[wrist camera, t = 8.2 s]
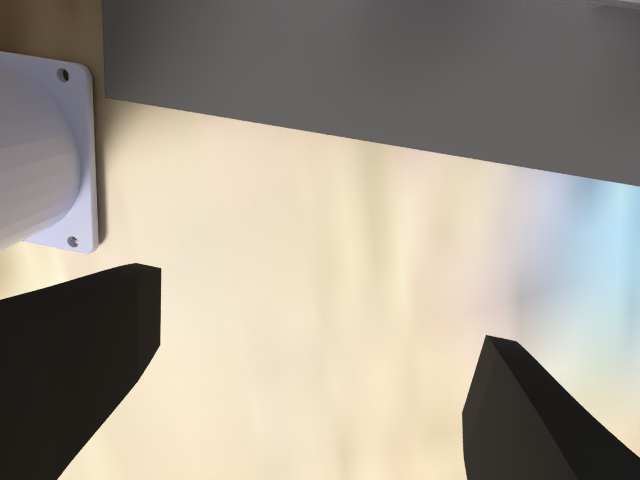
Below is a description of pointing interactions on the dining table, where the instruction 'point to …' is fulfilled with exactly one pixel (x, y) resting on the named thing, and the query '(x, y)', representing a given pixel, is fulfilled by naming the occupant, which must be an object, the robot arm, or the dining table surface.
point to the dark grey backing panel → (398, 73)
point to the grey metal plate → (593, 3)
